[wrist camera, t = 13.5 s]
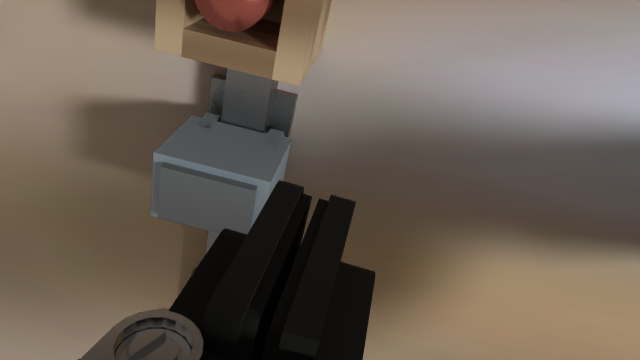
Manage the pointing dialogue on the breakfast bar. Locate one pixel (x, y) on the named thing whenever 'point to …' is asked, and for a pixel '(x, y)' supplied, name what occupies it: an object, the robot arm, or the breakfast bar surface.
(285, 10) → the small open wooden box
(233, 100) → the guide rail
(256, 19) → the button
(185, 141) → the carriage
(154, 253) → the breakfast bar surface
